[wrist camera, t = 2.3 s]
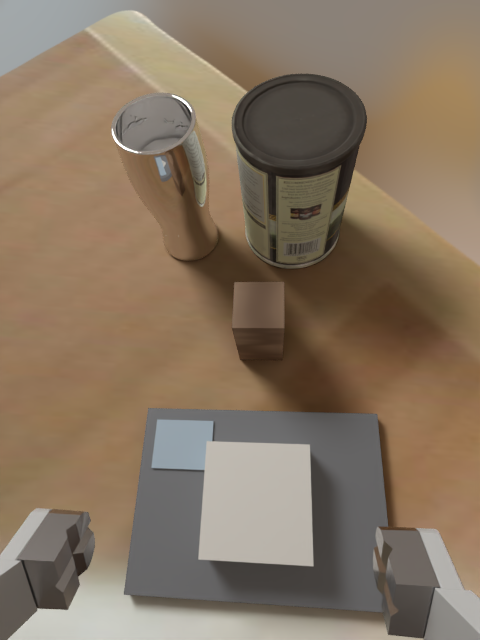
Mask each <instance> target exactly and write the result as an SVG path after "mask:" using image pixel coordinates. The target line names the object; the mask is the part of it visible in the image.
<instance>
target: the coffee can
mask: <svg viewBox="0 0 480 640" xmlns="http://www.w3.org/2000/svg"><path fill="white" fill-rule="evenodd" d="M366 123H367V116H366V111H365V107H364V105H363V103H362V101H361V99H360V98H359V97H358V96H357V95H356V93H355V92H353V91H352V90H351V89H350V88H349V87H347V86H346V85H344V84H342V83H341V82H339V81H336V80H334V79H331V78H328V77H325V76H320V75H314V74H290V75H284V76H279V77H276V78H272V79H270V80H268V81H265V82H263V83H261V84H259V85H257V86H256V87H254V88H253V89H251V90H250V91H249V92H248V93H246V94H245V95H244V96H243V98H242V99H241V100H240V101H239V103H238V104H237V106H236V108H235V110H234V113H233V117H232V133H233V138H234V141H235V143H236V151H237V160H238V168H239V176H240V184H241V192H242V201H243V209H244V218H245V226H246V228H245V232H246V238H247V241H248V244H249V246H250V248H251V249H252V250H253V252H254V253H255V254H256V255H257V256H258V257H259V258H260V259H262V260H263V261H265V262H266V263H268V264H271V265H273V266H276V267H280V268H285V269H295V268H303V267H307V266H311V265H313V264H315V263H317V262H319V261H321V260H323V259H324V258H325V257H326V256H327V255H328V254H329V253H330V252H331V251H332V250H333V248H334V247H335V245H336V243H337V240H338V237H339V231H340V225H341V221H342V216H343V212H344V208H345V204H346V200H347V196H348V191H349V187H350V183H351V179H352V175H353V171H354V167H355V163H356V158H357V154H358V149H359V145H360V143H361V141H362V139H363V136H364V133H365V129H366Z"/></svg>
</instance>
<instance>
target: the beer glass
mask: <svg viewBox="0 0 480 640" xmlns="http://www.w3.org/2000/svg"><path fill="white" fill-rule="evenodd" d="M111 132H112V137H113V139H114V141H115V143H116V146H117V149H118V152H119V155H120V158H121V161H122V163H123V166H124V168H125V171H126V173H127V176H128V178H129V180H130V182H131V184H132V186H133V188H134V190H135V192H136V193H137V195H138V196H139V198H140V199H141V201H142V202H143V204H144V205H145V206H146V208H147V209H148V210H149V211H150V213H151V214H152V215H153V217H154V218H155V219H156V221H157V222H158V223H159V225H160V227H161V229H162V235H163V241H164V245H165V248H166V250H167V251H168V252H169V253H170V254H171V255H172V256H173V257H175V258H177V259H179V260H183V261H193V260H198V259H201V258H203V257H205V256H206V255H208V254H209V253H210V252H211V251H212V250H213V249H214V247H215V246H216V244H217V241H218V230H217V227H216V225H215V223H214V221H213V219H212V217H211V215H210V211H209V167H208V161H207V155H206V151H205V147H204V142H203V139H202V136H201V132H200V129H199V126H198V123H197V120H196V115H195V111H194V109H193V107H192V105H191V104H190V103H189V102H188V101H187V100H185V99H184V98H182V97H180V96H178V95H175V94H170V93H152V94H147V95H143V96H140V97H138V98H136V99H134V100H132V101H130V102H128V103H127V104H126V105H124V106H123V107H122V108H121V109H120V110H119V111H118V113H117V114H116V115H115V117H114V119H113V122H112V126H111Z"/></svg>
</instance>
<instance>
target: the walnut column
mask: <svg viewBox="0 0 480 640" xmlns="http://www.w3.org/2000/svg"><path fill="white" fill-rule="evenodd" d="M232 330H233V334H234V337H235V341H236V345H237V349H238V353H239V357H240V360H282V358H283V343H284V282H234V299H233V319H232Z"/></svg>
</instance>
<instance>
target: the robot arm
mask: <svg viewBox="0 0 480 640" xmlns="http://www.w3.org/2000/svg"><path fill="white" fill-rule="evenodd" d="M90 521H91V520H90V517H89V513H88V512H83V511H70V510H58V509H43V508H36V509H35V510H34V511H32V512H31V513H30V514H29V516H28V517H27V519H26V520H25V521H24V523H23V524H22V526H21V527H20V528H19V530H18V531H17V532H16V534H15V535H14V537H13V538H12V539H11V541H10V542H9V544H8V545H7V546H6V548H5V549H4V551H3V552H2V553H1V555H0V640H7V639H8V638H9V637H10V636H11V635H12V634H13V633H14V632H16V631H17V630H18V629H19V628H20V627H21V626H22V625H23V624H24V623H25V622H26V621H27V620H28V619H29V618H30V617H31V616H32V615H33V614H34V613H35V612H36V611H37V608H40V609H63V610H68V608H69V606H70V604H71V602H72V600H73V598H74V596H75V594H76V592H77V589H78V587H79V585H80V584H79V579H78V576H79V575H81V574H82V573H83V572H84V571H85V570H87V568H88V566H89V564H90V562H91V560H92V556H93V552H94V548H95V538H94V533H93V532H92V531H91V530H90V529H89V528H88V525H89V523H90ZM375 537H376V541H377V546H376V547H375V548H374V551H373V570H374V577H375V582H376V586H377V589H378V590H379V591H380V592H381V593H382V595H383V597H382V604H381V608H382V612H383V616H384V620H385V624H386V628H387V633H388V635H396V636H405V637H414V638H424V640H480V598H479V597H478V596H477V595H476V594H474V593H473V592H472V591H471V590H465V589H464V587H463V585H462V582H461V580H460V578H459V576H458V573H457V571H456V569H455V567H454V564H453V562H452V560H451V558H450V555H449V553H448V551H447V549H446V546H445V544H444V542H443V540H442V537H441V535H440V533H439V532H438V531H437V530H436V529H423V528H416V529H415V528H406V527H381V526H378V527H377V529H376V535H375Z"/></svg>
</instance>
